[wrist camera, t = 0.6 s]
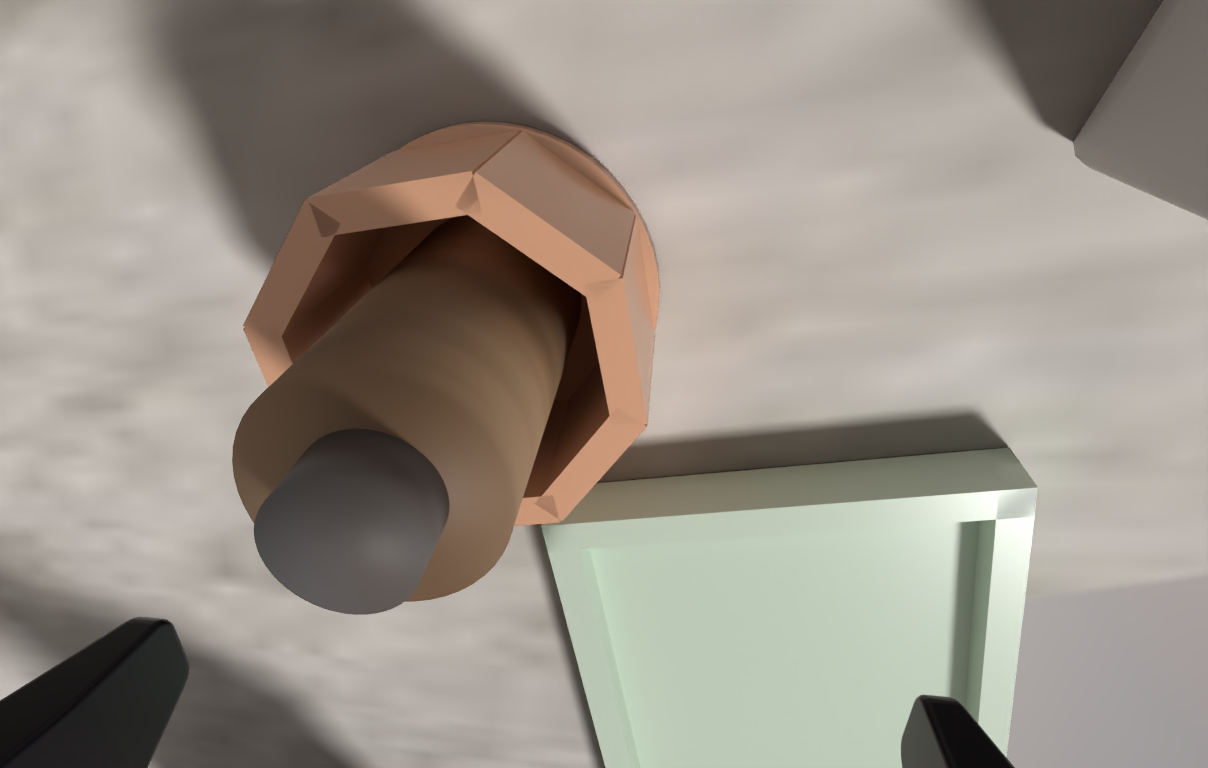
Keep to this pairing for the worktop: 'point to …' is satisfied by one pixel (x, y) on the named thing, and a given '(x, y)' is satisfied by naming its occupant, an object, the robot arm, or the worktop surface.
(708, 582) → the tray
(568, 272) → the utensil pot
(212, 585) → the worktop surface
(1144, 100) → the ice cube tray
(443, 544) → the pepper mill
